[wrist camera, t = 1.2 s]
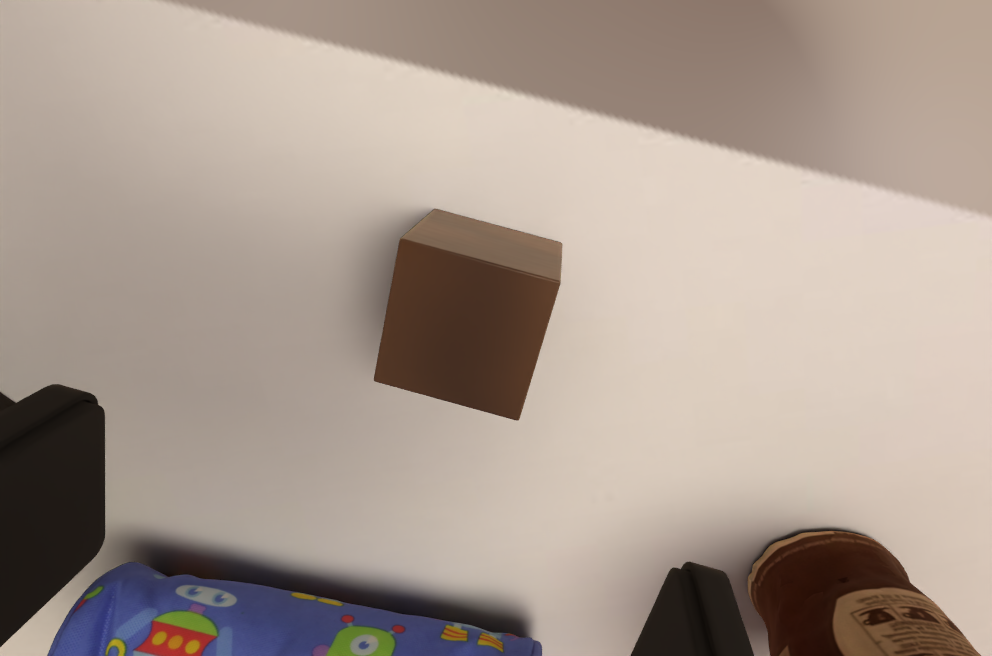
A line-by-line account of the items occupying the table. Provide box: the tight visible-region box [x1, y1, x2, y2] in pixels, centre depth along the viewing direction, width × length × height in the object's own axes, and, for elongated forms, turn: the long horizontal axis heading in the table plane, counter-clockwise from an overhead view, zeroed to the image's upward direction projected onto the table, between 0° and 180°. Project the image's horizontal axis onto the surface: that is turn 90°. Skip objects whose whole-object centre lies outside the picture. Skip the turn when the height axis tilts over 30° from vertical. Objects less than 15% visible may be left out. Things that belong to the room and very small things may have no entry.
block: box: [374, 209, 562, 420], centre depth 21 cm, size 5×5×5 cm
